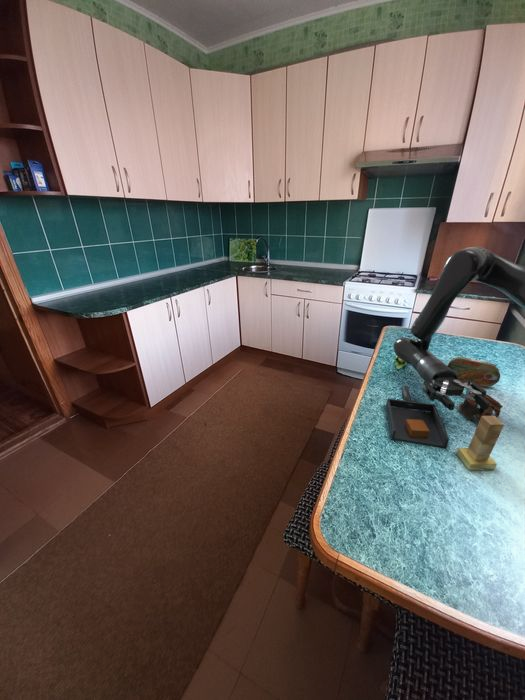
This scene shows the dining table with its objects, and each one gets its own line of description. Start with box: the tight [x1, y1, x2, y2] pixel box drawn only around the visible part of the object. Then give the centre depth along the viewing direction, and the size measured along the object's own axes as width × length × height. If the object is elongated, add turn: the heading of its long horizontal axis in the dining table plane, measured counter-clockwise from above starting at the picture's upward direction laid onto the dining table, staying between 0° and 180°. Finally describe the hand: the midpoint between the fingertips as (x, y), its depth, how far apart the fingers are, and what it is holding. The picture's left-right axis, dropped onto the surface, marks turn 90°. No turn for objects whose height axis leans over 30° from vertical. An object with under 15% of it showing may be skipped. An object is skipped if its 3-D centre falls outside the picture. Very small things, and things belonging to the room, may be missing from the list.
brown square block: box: [405, 419, 429, 438], centre depth 79 cm, size 4×4×2 cm
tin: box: [446, 356, 501, 388], centre depth 100 cm, size 15×3×8 cm, turn 55°
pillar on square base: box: [455, 415, 505, 471], centre depth 68 cm, size 6×5×13 cm
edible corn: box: [393, 355, 408, 370], centre depth 115 cm, size 5×20×5 cm, turn 144°
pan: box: [385, 384, 450, 449], centre depth 86 cm, size 25×13×3 cm, turn 165°
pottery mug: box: [456, 391, 503, 422], centre depth 84 cm, size 12×10×8 cm
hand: (470, 407), depth 72 cm, fingers open, 8 cm apart
